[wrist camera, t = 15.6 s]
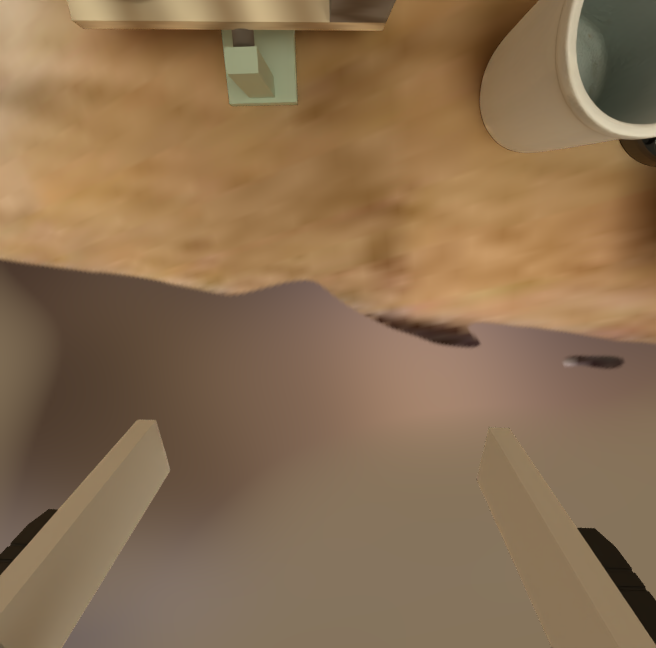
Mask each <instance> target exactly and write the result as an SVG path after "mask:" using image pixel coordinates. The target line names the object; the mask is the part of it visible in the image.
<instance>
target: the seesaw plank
mask: <svg viewBox="0 0 656 648" xmlns="http://www.w3.org/2000/svg"><path fill="white" fill-rule="evenodd" d="M395 1H396V0H67V3H68V7H69V11H70V15H71V19H72V21H73V22H75V23H76V24H77V25H79V26H80V27H82V28H83V29H204V30H232V39H233V47H251V46H255V43H254V31H253V30H355V31H382V30H383V28H384V26H385V23H386V21H387V19H388V17H389V14H390V12H391V10H392V8H393V5H394V3H395Z"/></svg>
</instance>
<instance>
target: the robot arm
mask: <svg viewBox="0 0 656 648" xmlns="http://www.w3.org/2000/svg"><path fill="white" fill-rule="evenodd" d="M620 141H621V143H622V145H623V147H624V149H625V150H626V151H627V153H628V154H629V155H630V156H631V157H633V158H634V159H635V160H637V161H639V162H640V163H643V164H645V165H649V166H654V167H656V137H653V138H647V139H635V140H628V139H620ZM169 471H170V468H169V464H168V461H167V457H166V454H165V450H164V447H163V443H162V439H161V436H160V432H159V429H158V425H157V422H156V420H137V421H136V422H135V423H134V424H133V425H132V427H131V428H130V429H129V430H128V431H127V432H126V433H125V435H124V436H123V437H122V438H121V439H120V440H119V442H117V444H116V445H115V446H114V447H113V448H112V449H111V450H110V452H109V453H108V454H107V455H106V456H105V458H103V460H102V461H101V462H100V463H99V464H98V465H97V466H96V467H95V469H94V470H93V471H92V472H91V473H90V474H89V475H88V477H87V478H86V479H85V480H84V481H83V482H82V483H81V484H80V486H79V487H78V488H77V489H76V490H75V491H74V492H73V494H72V495H71V496H70V497H69V498H68V499H67V500H66V502H65V503H64V504H63V505H62V506H61V507H60V508H59V509H58V510H55V509H48V510H47V511H46V512H44V513H43V514H42V515H40V516H39V517H38V518H36V519H35V520H34V521H32V522H31V523H30V524H28V525H27V526H26V528H24V529H23V531H22V532H21V533H20V534H19V535H18V536H17V537H16V538H15V539H14V540H13V541H12V543H11V545H10V546H9V547H7V548H6V549H5V550H4V551H3V552H2V553H1V554H0V648H62V646H63V645H64V643H65V642H66V640H67V639H68V637H69V635H70V634H71V632H72V630H73V628H74V627H75V625H76V624H77V622H78V620H79V619H80V617H81V616H82V614H83V612H84V611H85V609H86V607H87V606H88V604H89V603H90V601H91V599H92V598H93V596H94V594H95V592H96V591H97V589H98V588H99V586H100V584H101V583H102V581H103V580H104V578H105V576H106V575H107V573H108V571H109V570H110V568H111V567H112V565H113V563H114V562H115V560H116V558H117V557H118V555H119V553H120V552H121V550H122V549H123V547H124V545H125V543H126V542H127V540H128V539H129V537H130V535H131V534H132V532H133V530H134V529H135V527H136V525H137V524H138V522H139V521H140V519H141V517H142V516H143V514H144V513H145V511H146V509H147V508H148V506H149V504H150V502H151V501H152V499H153V498H154V496H155V495H156V493H157V491H158V490H159V488H160V486H161V484H162V483H163V481H164V480H165V478H166V477H167V475H168V473H169ZM477 481H478V484H479V486H480V489H481V491H482V493H483V495H484V498H485V500H486V502H487V504H488V507H489V509H490V511H491V513H492V515H493V518H494V520H495V522H496V524H497V527H498V529H499V531H500V533H501V536H502V538H503V540H504V542H505V545H506V547H507V549H508V551H509V553H510V556H511V558H512V560H513V563H514V565H515V567H516V569H517V571H518V573H519V576H520V578H521V580H522V582H523V585H524V587H525V589H526V591H527V594H528V596H529V598H530V600H531V603H532V605H533V607H534V610H535V612H536V614H537V616H538V619H539V621H540V623H541V625H542V627H543V630H544V632H545V634H546V636H547V639H548V640H549V643H550V645H551V647H552V648H656V600H655V599H654V598H653V596H652V595H651V594H650V592H648V591H647V590H646V589H645V586H644V584H643V583H642V582H641V580H640V579H639V578H638V576H637V575H636V574H635V573H633V572H632V569H631V567H630V565H629V564H628V563H627V561H626V560H625V559H624V557H623V556H622V555H621V553H620V552H619V551H618V550H617V548H616V547H615V546H614V545H613V544H612V543H611V542H609V541H608V540H607V539H606V538H605V537H604V536H603V535H602V534H600V533H599V532H598V531H597V530H596V529H594V528H577V527H576V526H575V525H574V523H573V522H572V520H571V519H570V517H569V516H568V514H567V513H566V511H565V510H564V508H563V507H562V505H561V504H560V502H559V501H558V499H557V498H556V496H555V495H554V493H553V492H552V491H551V489H550V488H549V486H548V485H547V483H546V482H545V480H544V479H543V477H542V476H541V474H540V473H539V471H538V470H537V468H536V467H535V465H534V464H533V462H532V461H531V459H530V458H529V456H528V455H527V453H526V452H525V451H524V449H523V448H522V446H521V445H520V443H519V442H518V440H517V439H516V437H515V436H514V434H513V433H512V431H511V430H510V428H492V427H491V428H490V427H489V428H488V433H487V437H486V441H485V445H484V450H483V454H482V458H481V462H480V467H479V471H478V475H477Z"/></svg>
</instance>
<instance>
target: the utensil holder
mask: <svg viewBox="0 0 656 648" xmlns="http://www.w3.org/2000/svg"><path fill="white" fill-rule="evenodd" d="M480 110H481V116H482V119H483V122H484V125H485V127H486V129H487V131H488V132H489V134H490V135H491V136H492V138H493V139H494V140H495V141H496V142H497V143H498V144H500V145H501V146H503V147H505V148H506V149H509V150H512V151H515V152H521V153H535V152H544V151H551V150H558V149H565V148H571V147H577V146H583V145H589V144H595V143H600V142H606V141H611V140H618V139H628V140H635V139H647V138H653V137H656V0H539V1H538V2H537V3H536V4H535V5H534V6H533V7H532V8H531V9H530V10H529V11H528V12H527V13H526V14H525V16H524V17H523V18H522V19H521V20H520V21H519V22H518V24H517V25H516V26H515V27H514V28H513V29H512V30H511V31H510V32H509V33H508V35H507V36H506V37H505V38H504V39H503V41H502V42H501V43H500V44H499V46H498V47H497V49H496V50H495V52H494V53H493V55H492V57H491V59H490V61H489V63H488V65H487V67H486V70H485V72H484V76H483V79H482V84H481V90H480Z"/></svg>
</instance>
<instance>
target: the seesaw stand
mask: <svg viewBox="0 0 656 648" xmlns="http://www.w3.org/2000/svg"><path fill="white" fill-rule="evenodd" d="M253 31H254V43H255V46H251V47H233V39H232V30H221V32H222V41H223V50H224V60H225V69H226V78H227V87H228V96H229V104H230V105H231V106H266V105H298V95H297V71H296V47H295V30H253Z"/></svg>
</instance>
